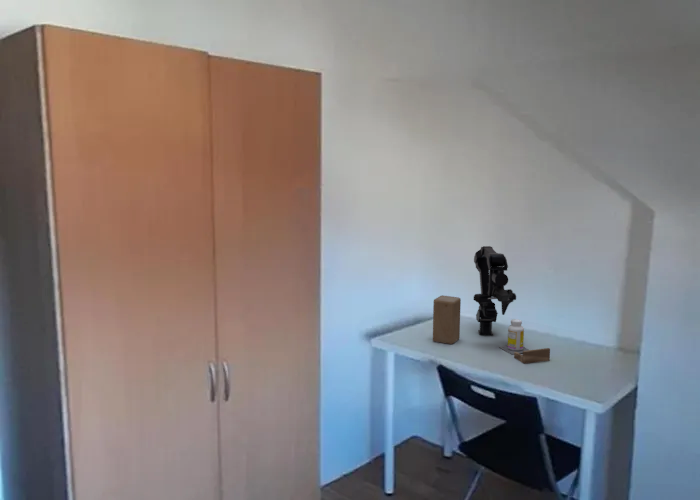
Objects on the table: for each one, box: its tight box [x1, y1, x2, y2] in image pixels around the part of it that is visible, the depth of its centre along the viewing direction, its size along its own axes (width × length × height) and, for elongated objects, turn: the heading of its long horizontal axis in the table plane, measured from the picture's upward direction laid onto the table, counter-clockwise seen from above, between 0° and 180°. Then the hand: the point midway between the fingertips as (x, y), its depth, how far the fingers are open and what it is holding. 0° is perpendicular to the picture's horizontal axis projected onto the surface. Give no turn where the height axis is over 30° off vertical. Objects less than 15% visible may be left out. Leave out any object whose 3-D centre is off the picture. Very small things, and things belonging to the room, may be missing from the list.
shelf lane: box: [513, 347, 551, 364], centre depth 251 cm, size 7×12×5 cm, turn 108°
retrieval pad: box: [499, 345, 529, 356], centre depth 263 cm, size 10×10×1 cm
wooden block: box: [432, 295, 461, 345], centre depth 275 cm, size 10×10×20 cm
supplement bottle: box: [507, 318, 525, 351], centre depth 262 cm, size 7×7×13 cm
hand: (494, 315), depth 270 cm, fingers open, 9 cm apart
